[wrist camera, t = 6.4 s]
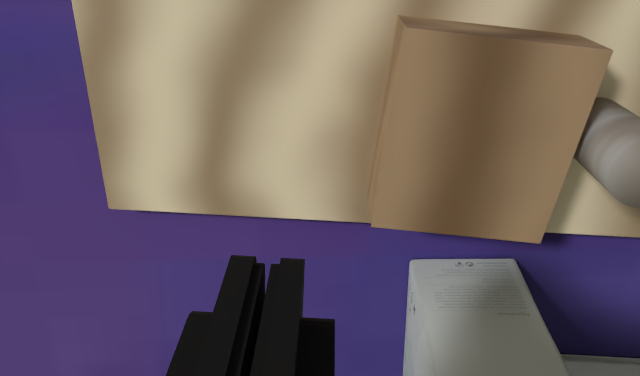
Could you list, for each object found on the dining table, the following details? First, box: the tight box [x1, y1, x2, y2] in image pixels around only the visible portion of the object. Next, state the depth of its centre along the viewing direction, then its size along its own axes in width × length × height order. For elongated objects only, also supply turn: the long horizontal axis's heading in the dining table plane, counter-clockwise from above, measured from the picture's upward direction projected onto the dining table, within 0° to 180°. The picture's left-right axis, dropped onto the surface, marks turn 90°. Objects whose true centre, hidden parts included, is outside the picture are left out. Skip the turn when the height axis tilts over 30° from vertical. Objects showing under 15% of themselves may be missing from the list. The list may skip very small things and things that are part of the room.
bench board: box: [72, 0, 640, 237], centre depth 22 cm, size 29×12×6 cm, turn 87°
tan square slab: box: [367, 15, 614, 244], centre depth 22 cm, size 8×9×3 cm
